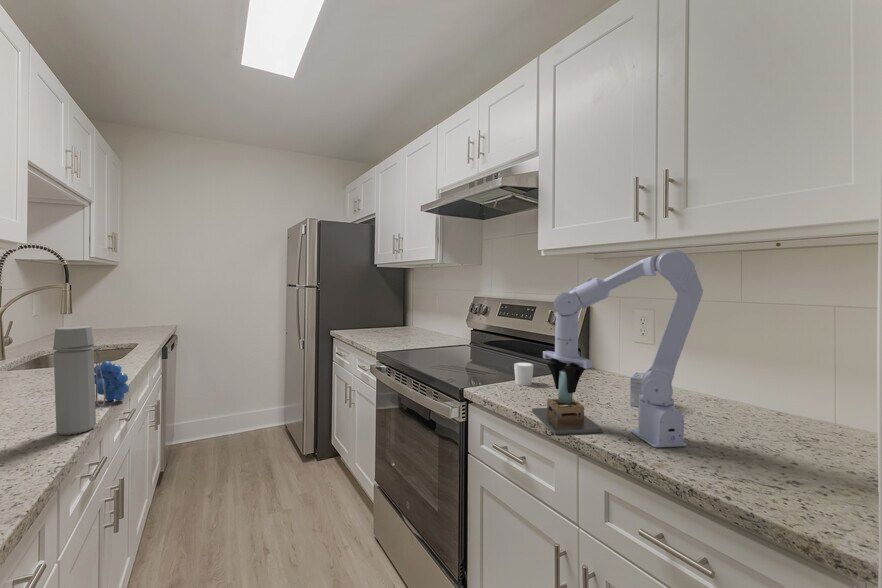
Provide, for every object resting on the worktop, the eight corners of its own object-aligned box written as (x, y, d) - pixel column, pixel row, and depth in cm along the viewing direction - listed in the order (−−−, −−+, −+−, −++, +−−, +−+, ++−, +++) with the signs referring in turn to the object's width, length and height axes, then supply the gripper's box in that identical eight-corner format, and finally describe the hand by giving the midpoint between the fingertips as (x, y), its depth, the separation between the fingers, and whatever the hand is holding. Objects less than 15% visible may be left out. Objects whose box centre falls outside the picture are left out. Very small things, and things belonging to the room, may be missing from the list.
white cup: (522, 380, 145) (522, 361, 145) (537, 384, 140) (537, 364, 139) (509, 383, 140) (510, 363, 140) (525, 387, 135) (525, 367, 135)
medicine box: (646, 408, 114) (647, 379, 113) (629, 405, 116) (630, 376, 116) (651, 402, 120) (651, 374, 120) (635, 399, 123) (635, 371, 122)
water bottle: (59, 439, 90) (55, 330, 89) (52, 431, 95) (48, 327, 93) (110, 427, 97) (107, 326, 96) (102, 420, 102) (99, 324, 101)
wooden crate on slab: (602, 432, 96) (602, 411, 96) (554, 434, 95) (555, 413, 94) (573, 410, 112) (573, 392, 112) (532, 411, 110) (532, 393, 110)
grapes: (78, 404, 114) (77, 363, 114) (101, 397, 121) (100, 358, 120) (114, 406, 113) (113, 365, 112) (135, 399, 119) (134, 360, 119)
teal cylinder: (575, 402, 102) (576, 371, 102) (566, 404, 101) (566, 373, 100) (564, 398, 105) (565, 369, 105) (555, 400, 104) (556, 370, 103)
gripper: (600, 341, 98) (599, 395, 99) (556, 334, 110) (554, 381, 111) (581, 343, 94) (580, 399, 95) (537, 335, 107) (536, 385, 107)
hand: (565, 390), depth 103 cm, fingers closed on teal cylinder, 3 cm apart
